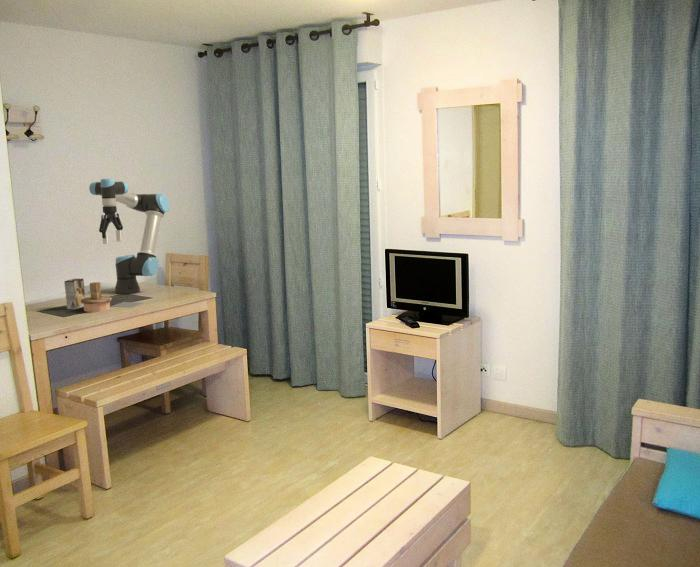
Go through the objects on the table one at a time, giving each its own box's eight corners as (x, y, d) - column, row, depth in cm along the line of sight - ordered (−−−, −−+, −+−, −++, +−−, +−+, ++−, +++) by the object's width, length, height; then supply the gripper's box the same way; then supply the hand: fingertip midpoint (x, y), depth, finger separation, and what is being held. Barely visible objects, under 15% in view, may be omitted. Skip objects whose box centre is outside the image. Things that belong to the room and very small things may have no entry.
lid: (92, 297, 389) (91, 280, 387) (117, 298, 385) (116, 280, 383) (74, 303, 374) (73, 285, 372) (100, 304, 370) (99, 285, 368)
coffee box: (76, 306, 393) (73, 278, 390) (86, 306, 392) (83, 278, 389) (66, 309, 384) (64, 281, 381) (77, 309, 383) (74, 281, 380)
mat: (123, 302, 399) (123, 302, 399) (144, 303, 396) (144, 302, 396) (109, 307, 386) (109, 306, 386) (131, 308, 382) (131, 307, 382)
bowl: (93, 307, 388) (93, 298, 387) (114, 307, 385) (114, 299, 384) (79, 312, 375) (78, 303, 374) (100, 312, 372) (99, 303, 371)
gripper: (116, 204, 407) (118, 240, 411) (90, 207, 383) (93, 245, 387) (127, 204, 405) (130, 240, 409) (102, 207, 381) (105, 245, 385)
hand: (112, 242), depth 398 cm, fingers open, 13 cm apart
